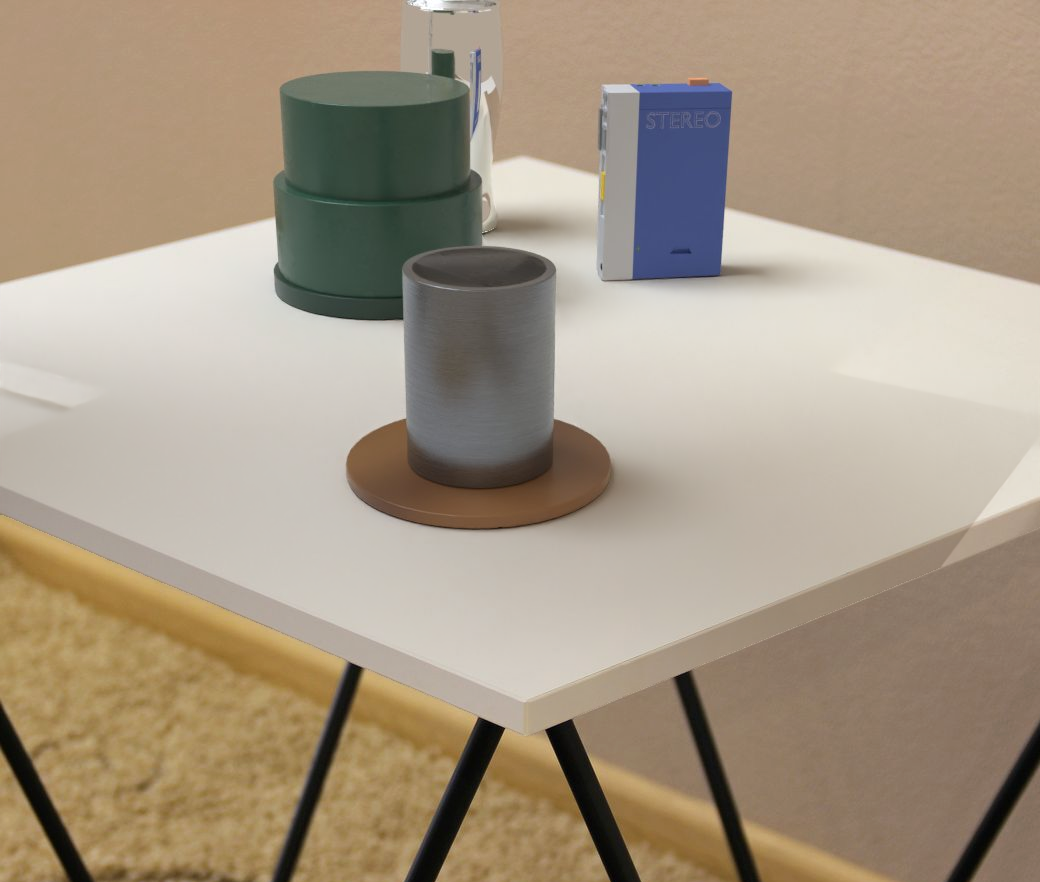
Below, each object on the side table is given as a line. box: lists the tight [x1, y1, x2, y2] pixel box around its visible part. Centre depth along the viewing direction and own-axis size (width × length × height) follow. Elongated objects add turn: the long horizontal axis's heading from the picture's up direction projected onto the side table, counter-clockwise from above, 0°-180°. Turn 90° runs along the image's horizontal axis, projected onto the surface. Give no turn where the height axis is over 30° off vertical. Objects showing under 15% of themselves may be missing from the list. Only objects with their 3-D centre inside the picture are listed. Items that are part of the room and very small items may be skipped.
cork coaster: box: [345, 418, 612, 529], centre depth 69 cm, size 12×12×1 cm
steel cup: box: [402, 245, 557, 489], centre depth 67 cm, size 7×7×9 cm
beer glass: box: [399, 0, 505, 232], centre depth 104 cm, size 7×7×15 cm
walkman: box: [596, 77, 733, 281], centre depth 95 cm, size 8×3×12 cm, turn 102°
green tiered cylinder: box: [272, 70, 483, 320], centre depth 91 cm, size 13×13×12 cm
